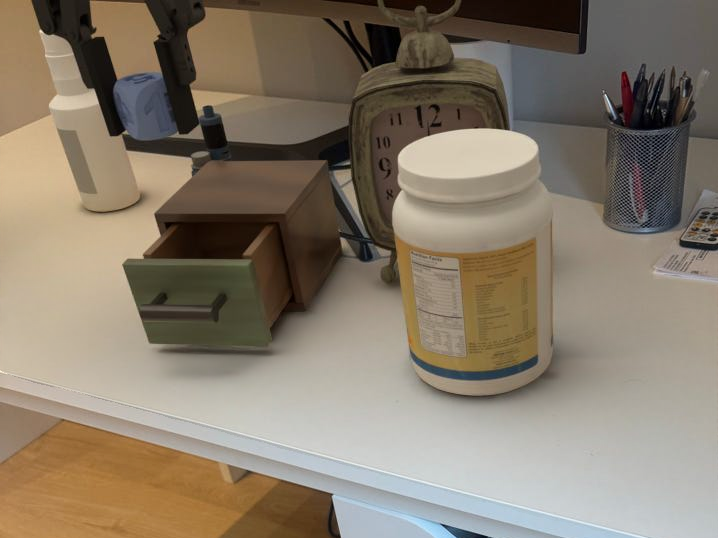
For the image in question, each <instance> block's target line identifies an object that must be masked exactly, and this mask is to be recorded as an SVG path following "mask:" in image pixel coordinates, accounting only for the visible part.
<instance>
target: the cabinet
mask: <svg viewBox="0 0 718 538" xmlns="http://www.w3.org/2000/svg"><path fill="white" fill-rule="evenodd" d="M153 216H154V218H155V222H156V226H157V229H158V232H159V235H160V236H161V235H162V234H163V233H164V232H165V231H166V230H167V229H168V228H169V227H170V226H171V225H172V224H173V223H174V222H279V225H280V230H281V235H282V239H283V244H284V249H285V253H286V258H287V263H288V267H289V272H290V277H291V281H292V286H293V291H294V293H293V295H292V296H291V298H290V299H289V301H288V302H287V304H286V305H285V307H284V308H283V310H282V311H281V312H283V311H284V312H306V311H307V309H308V308H309V306H310V305H311V304H312V302H313V300H314V298H315V296H316V295H317V293H318V292H319V290H320V288H321V287H322V285H323V284H324V282H326V279H327V278H328V276H329V274H330V273H331V272H332V270H333V268H334V267H335V266H336V263H337V262H338V260H339V259H340V257H341V255H342V254H343V246H342V241H341V240H342V239H341V233H340V227H339V222H338V221H339V220H338V215H337V210H336V203H335V199H334V192H333V187H332V180H331V174H330V169H329V161H328V160H327V159H325V160H323V159H319V160H318V159H317V160H311V159H309V160H305V159H304V160H232V161H209V162H207V163H206V164H205V165H204V166H203V167H202V168H201V169H200V170H199V171H198V172H197V173H196V174H195V175H194V176H193V177H192V176H191V178H189V179H188V180H187V182H185V183H184V184H183V185H182V186H181V187H180V188H179V189H178V190H177V191H176V192H175V193H173V195H172V196H170V198H168V199H167V201H165V202H164V203H163V204H162V205H161V206H160V207H159V208H158V209H157V210H156V211H155V212H153ZM160 236H159V237H160Z"/></svg>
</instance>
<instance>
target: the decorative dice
mask: <svg viewBox="0 0 718 538" xmlns="http://www.w3.org/2000/svg"><path fill="white" fill-rule="evenodd" d="M113 97H114V102H115V106H116V109H117V112H118V115H119V117H120V120H121V122H122V124H123V126H124V127H125V129H126V131H125V132H127V133H128V135H129V136H130V137H131V138H133V139H134V140H137V141H145V142H146V141H156V140H161V139H166V138H168V137H171V136H174V135H176V134H177V133H179V132H178V129H177V125H176V121H175V118H174V114H173V111H172V107H171V104H170V100H169V96H168V93H167V89H166V86H165V82H164V79H163V75H162V72H156V71H147V72H139V73H133V74H129V75H126V76H122V77H120V78H119V79H117V81H116V83H115V86H114V88H113Z"/></svg>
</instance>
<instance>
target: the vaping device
mask: <svg viewBox="0 0 718 538" xmlns="http://www.w3.org/2000/svg"><path fill="white" fill-rule="evenodd" d="M213 107H214V106H213V105H211V104H210V105H209V104H208V105H204V106H202V107H201V108H202V111H203V114H202V115H200V116H198V119H199V122H200V124H199V125H200V129H201V133H202V137H203V141H204V145H205V149H206V150H202V151H195V152H193V153H191V154H190V159H191V162H192V163H191V165H190V167H191V171H190V172H191V178H192V177H193V176H194V175H195V174H196V173H197V172H198V171H199V170H200V169H201V168H202V167H203V166H204V165H205V164H206V163H207V162H209V161H233V156H232V154H231V152H230V147H229V144H228V138H227V135H226V131H225V126H224V122H223V118H222V115H221V113H218V112H215V111H214V108H213Z"/></svg>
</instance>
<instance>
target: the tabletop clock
mask: <svg viewBox="0 0 718 538" xmlns="http://www.w3.org/2000/svg"><path fill="white" fill-rule="evenodd" d="M461 3H462V0H455V2H454V5H452V6H451V7H450V8H448V10H446V11H444V12H441V13H439V14H437V15H431V16H428V10H427V8H426V7H425V6H424V5H417V6H416V7H415V9H414V17H406V16H401V15H398V14H395V13H393V12H391V11H390V10H388V9H387V8H386V6H385V3H384V0H377V4H378V8H379V10H380V12H381V13H382V15H383V16H384V17H385V18H386V19H388V20H389V21H390V22H391V23H393V24H395V25H399V26H400V27H404V28H413V29H415V30H414V31H412V32H409V33H407V34H406V35H404V37H403V39H402V40H401V42H400V44H399V46H398V49H397V53H396V58H395V61H394V62H390V63H384V64H381V65H378V66H375V67H372V69H369V70H368V71H367V72H364V73H363V74H361V76H360V79H359V82H358V84H357V86H356V90H355V93H354V95H353V97H352V101H351V106H350V109H349V110H350V111H349V115H348V126H347V127H348V130H347V132H348V133H347V135H348V136H347V140H348V154H349V164H350V166H349V167H350V176H351V182H352V187H353V191H354V195H355V199H356V203H357V204H356V205H357V209H358V212H359V216H360V219H361V223H362V225H363V227H364V230H365V233H366V234H367V236H368V238H369V240H370V242H371V243H372V245H373V246H374V247H377V248H380V249H381V250H385V251H389V252H390V256H389V262H388V264H386V265H384V266H382V268H381V269H380V272H379V277H380V278H381V280H382V281H383V283H387V284H390V283H393V282H395V280H396V278H397V270H396V268H395V264H396V263H397V261H398V259H397V251H396V244H395V236H394V228H393V225H392V211H393V206H394V203H395V200H396V198H397V196H398V195H399V193H400V192H401V191H402V189H401V188H400V186H399V184H398V174H399V169H398V155H399V153H400V152H401V151H402V150H403V149H404V148H405V147H406V146H408V145H409V144H411V143H413V142H415V141H417V140H419V139H422V138H424V137H428V136H431V135H434V134H439V133H443V132H449V131H455V130H463V129H500V130H508V131H511V126H510V114H509V105H508V99H507V94H506V90H505V86H504V82H503V80H502V78H501V75H500V72H499V70H498V67H497V66H496V65H494V64H491V63H489V62H486V61H484V60H481V59H478V58H477V59H476V58H471V57H455V54H454V51H453V49H452V46H451V44H450V42H449V41H448V39H447V38H446V37H445V35H443V34H442V33H441V32H439V31H436V30H433V29H429V28H430V27H434V26H438V25H440V24H443V23H445V22H446V21H448V20H451V19H452V18H453V16H454V15H455V14H457V11H459V8H460V6H461Z"/></svg>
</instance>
